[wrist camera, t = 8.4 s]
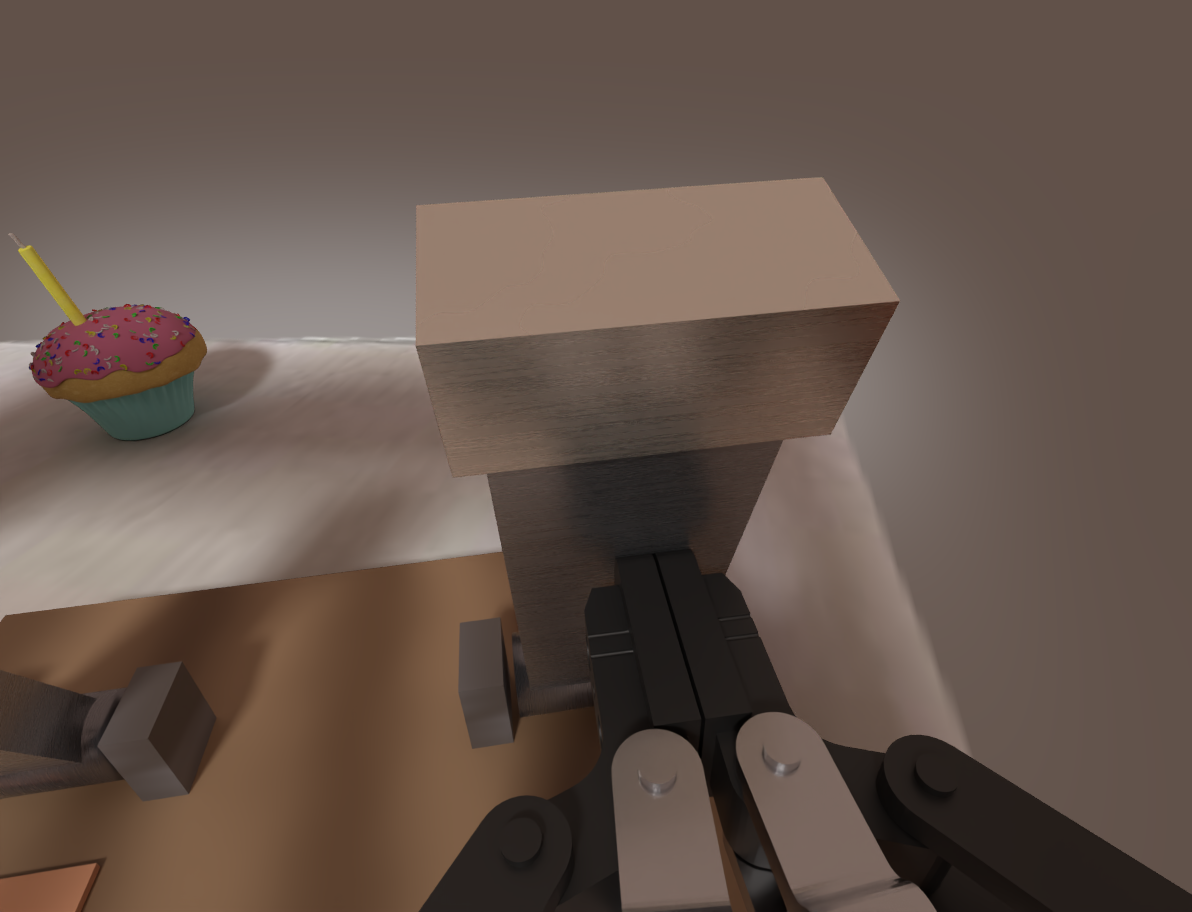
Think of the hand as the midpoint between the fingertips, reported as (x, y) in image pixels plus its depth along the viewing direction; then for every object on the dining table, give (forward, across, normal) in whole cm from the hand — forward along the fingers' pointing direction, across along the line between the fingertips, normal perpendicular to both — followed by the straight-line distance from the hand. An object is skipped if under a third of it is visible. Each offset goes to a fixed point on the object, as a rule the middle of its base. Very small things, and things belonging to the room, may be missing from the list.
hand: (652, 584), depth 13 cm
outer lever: (+4, -1, -8) cm, 9 cm away
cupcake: (+30, -26, -12) cm, 41 cm away
